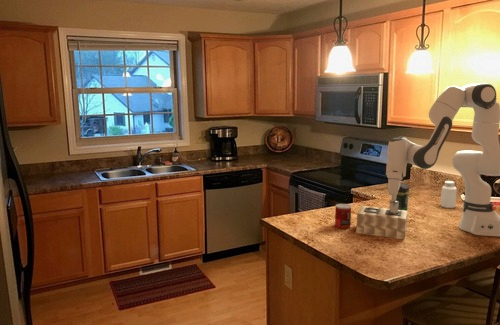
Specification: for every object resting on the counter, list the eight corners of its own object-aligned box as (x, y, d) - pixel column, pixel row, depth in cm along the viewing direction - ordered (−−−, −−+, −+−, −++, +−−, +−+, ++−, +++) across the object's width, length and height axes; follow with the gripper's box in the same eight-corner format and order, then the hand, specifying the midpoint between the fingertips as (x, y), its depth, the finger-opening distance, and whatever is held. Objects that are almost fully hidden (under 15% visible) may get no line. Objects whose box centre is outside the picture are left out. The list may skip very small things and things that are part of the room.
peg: (397, 220, 200) (398, 200, 198) (397, 222, 196) (398, 202, 194) (389, 219, 201) (390, 199, 200) (388, 221, 198) (389, 201, 196)
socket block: (406, 230, 204) (407, 209, 202) (404, 239, 191) (405, 218, 189) (360, 224, 212) (361, 205, 211) (356, 233, 200) (357, 212, 198)
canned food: (341, 230, 204) (342, 208, 202) (331, 225, 211) (332, 204, 209) (353, 227, 208) (354, 206, 206) (343, 223, 215) (344, 202, 213)
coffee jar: (403, 221, 218) (405, 187, 214) (388, 218, 222) (390, 184, 219) (409, 216, 225) (411, 183, 222) (394, 214, 230) (396, 181, 227)
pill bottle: (440, 207, 242) (442, 182, 240) (440, 204, 249) (442, 179, 247) (455, 209, 239) (457, 183, 237) (454, 205, 247) (456, 180, 244)
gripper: (391, 167, 205) (389, 194, 207) (386, 174, 187) (384, 204, 189) (404, 168, 203) (402, 195, 205) (401, 176, 184) (399, 206, 186)
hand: (394, 199), depth 197 cm, fingers closed
